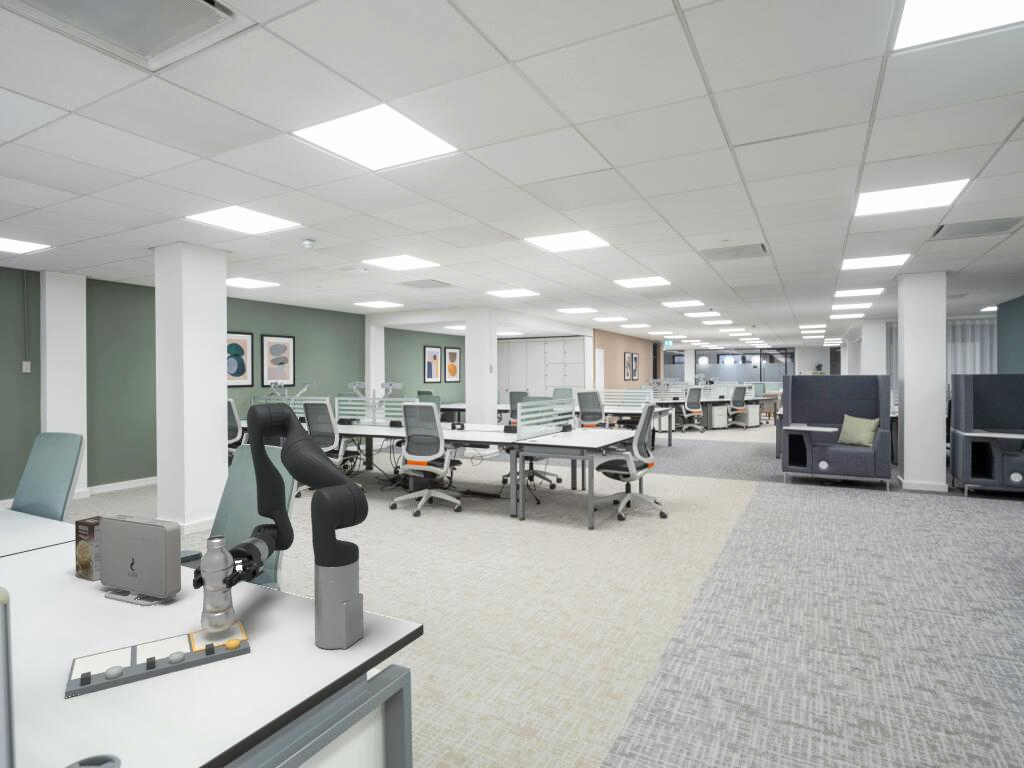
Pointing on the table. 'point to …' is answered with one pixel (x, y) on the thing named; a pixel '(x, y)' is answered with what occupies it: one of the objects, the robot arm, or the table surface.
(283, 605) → the table surface
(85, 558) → the coffee box
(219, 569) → the plastic bottle
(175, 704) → the table surface
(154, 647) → the board
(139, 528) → the network device
